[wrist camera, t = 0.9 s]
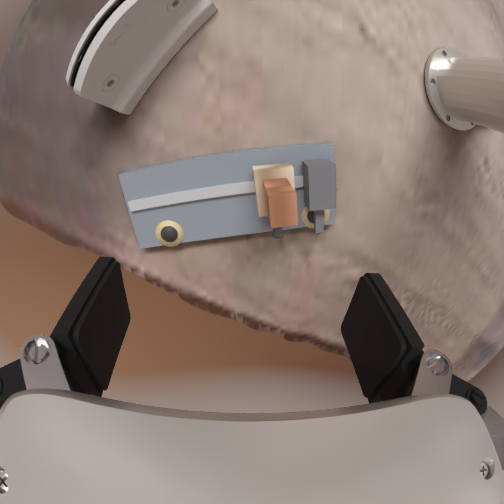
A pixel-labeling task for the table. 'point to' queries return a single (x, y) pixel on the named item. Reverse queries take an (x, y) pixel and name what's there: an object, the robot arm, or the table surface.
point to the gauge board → (225, 194)
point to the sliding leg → (276, 195)
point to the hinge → (132, 48)
